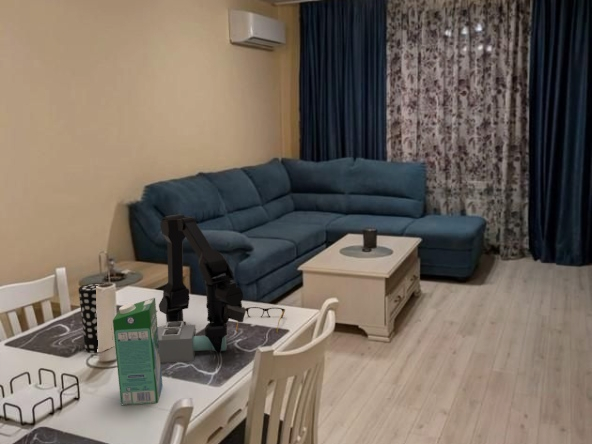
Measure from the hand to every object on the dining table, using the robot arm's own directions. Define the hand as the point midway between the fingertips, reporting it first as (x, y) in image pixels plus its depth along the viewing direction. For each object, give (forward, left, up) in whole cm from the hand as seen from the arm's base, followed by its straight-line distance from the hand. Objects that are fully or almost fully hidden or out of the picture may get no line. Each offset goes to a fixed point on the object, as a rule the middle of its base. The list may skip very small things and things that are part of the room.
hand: (219, 347), depth 172 cm
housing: (0, -14, -1) cm, 14 cm away
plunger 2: (+3, -13, +6) cm, 15 cm away
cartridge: (0, -8, -1) cm, 8 cm away
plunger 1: (-3, -14, +6) cm, 15 cm away
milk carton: (+25, -18, -2) cm, 31 cm away
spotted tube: (-9, -38, -2) cm, 40 cm away
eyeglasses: (-21, +13, -2) cm, 25 cm away
